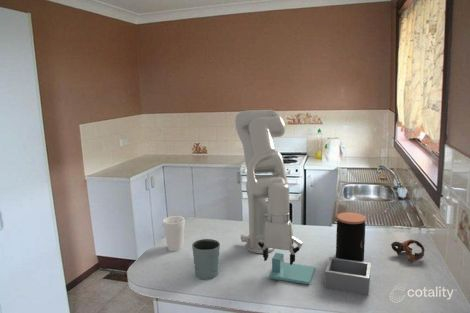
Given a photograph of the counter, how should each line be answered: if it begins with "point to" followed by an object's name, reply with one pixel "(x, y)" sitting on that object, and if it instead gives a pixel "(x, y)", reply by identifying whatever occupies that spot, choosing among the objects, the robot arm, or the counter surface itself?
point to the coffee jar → (350, 236)
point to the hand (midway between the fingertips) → (278, 261)
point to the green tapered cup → (206, 258)
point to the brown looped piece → (408, 249)
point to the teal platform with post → (290, 271)
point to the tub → (348, 276)
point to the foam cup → (174, 232)
